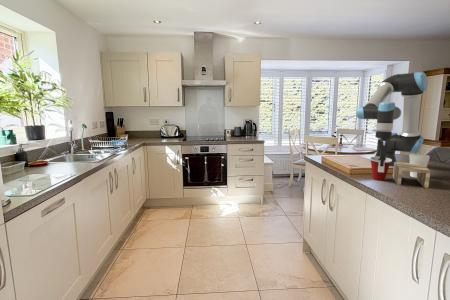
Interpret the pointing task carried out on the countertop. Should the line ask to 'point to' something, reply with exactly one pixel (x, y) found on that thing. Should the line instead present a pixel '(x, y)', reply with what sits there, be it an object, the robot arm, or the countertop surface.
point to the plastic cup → (374, 166)
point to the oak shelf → (421, 170)
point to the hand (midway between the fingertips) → (379, 169)
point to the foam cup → (418, 161)
